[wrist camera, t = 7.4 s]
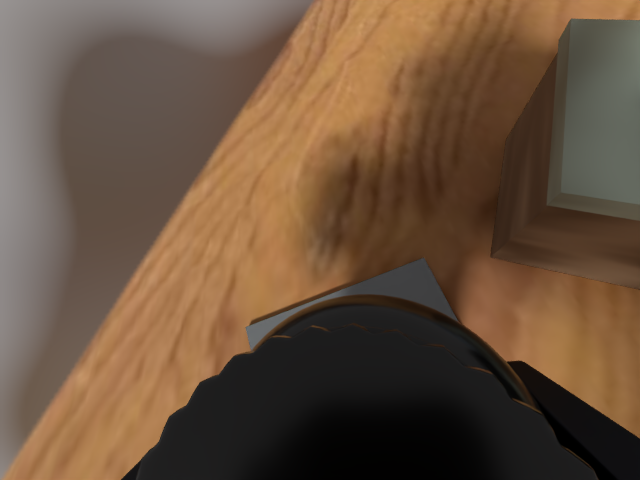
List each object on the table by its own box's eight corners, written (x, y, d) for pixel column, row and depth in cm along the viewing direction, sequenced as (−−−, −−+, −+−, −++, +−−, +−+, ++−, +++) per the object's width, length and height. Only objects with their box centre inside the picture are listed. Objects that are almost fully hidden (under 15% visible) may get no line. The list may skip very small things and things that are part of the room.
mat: (305, 570, 14) (303, 575, 14) (248, 327, 19) (245, 327, 19) (542, 483, 14) (546, 487, 14) (423, 259, 19) (424, 257, 19)
